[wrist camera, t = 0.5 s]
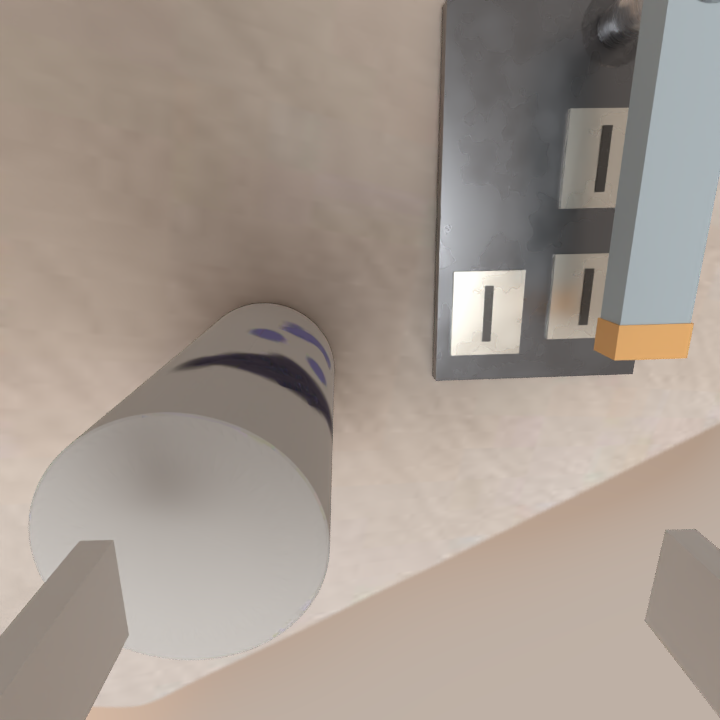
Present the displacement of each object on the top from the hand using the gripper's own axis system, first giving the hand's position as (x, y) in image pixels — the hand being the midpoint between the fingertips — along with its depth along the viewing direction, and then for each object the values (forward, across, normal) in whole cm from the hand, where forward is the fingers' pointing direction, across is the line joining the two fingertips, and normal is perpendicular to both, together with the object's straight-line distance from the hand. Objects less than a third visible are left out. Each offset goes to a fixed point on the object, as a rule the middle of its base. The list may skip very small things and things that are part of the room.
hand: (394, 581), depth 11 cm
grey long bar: (+17, +16, +12) cm, 26 cm away
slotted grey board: (+24, +13, +10) cm, 29 cm away
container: (+24, -7, -2) cm, 25 cm away
